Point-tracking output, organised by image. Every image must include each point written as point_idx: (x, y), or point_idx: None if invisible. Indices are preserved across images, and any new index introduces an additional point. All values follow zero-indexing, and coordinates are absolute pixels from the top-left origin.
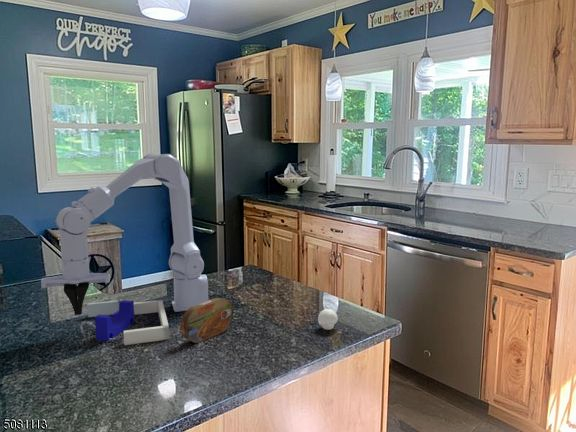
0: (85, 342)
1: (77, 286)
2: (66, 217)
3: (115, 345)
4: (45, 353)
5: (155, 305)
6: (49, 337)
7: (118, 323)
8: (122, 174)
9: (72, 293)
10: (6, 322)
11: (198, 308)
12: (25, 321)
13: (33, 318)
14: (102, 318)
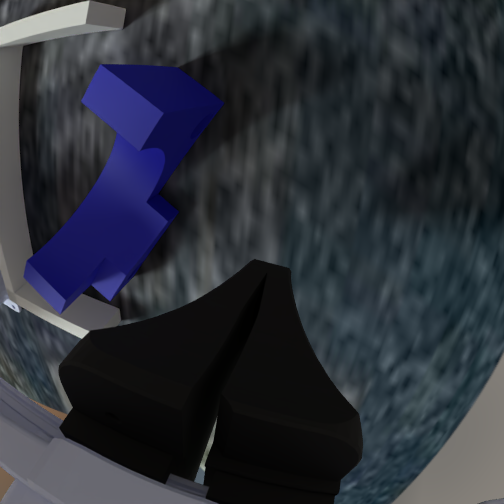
0: (274, 108)
1: (177, 445)
2: None
3: (155, 18)
4: (455, 90)
5: (27, 288)
6: (408, 266)
7: (114, 202)
8: None
9: (266, 378)
10: (450, 432)
11: None
12: (414, 424)
13: (389, 432)
14: (124, 79)
